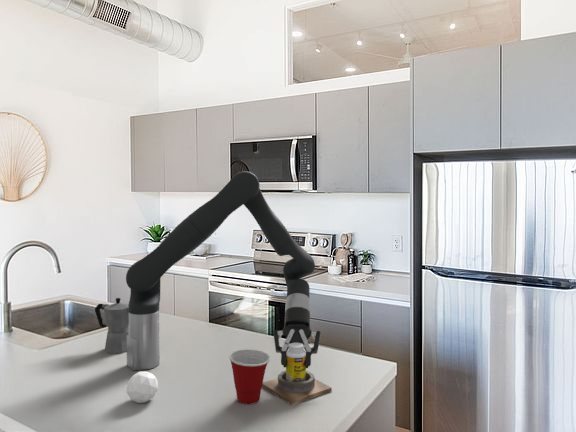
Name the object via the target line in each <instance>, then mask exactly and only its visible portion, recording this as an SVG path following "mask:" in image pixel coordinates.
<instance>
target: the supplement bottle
mask: <svg viewBox="0 0 576 432" xmlns="http://www.w3.org/2000/svg"><path fill="white" fill-rule="evenodd" d="M285 371H286V380H287V381H289V382H294V383H296V382H304V381H305V380H306V371H307V368H306V351H305V349H304V347H303V344H302V343H291V344H290V345H289V349H288V351H287V353H286V367H285Z"/></svg>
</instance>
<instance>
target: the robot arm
mask: <svg viewBox="0 0 576 432" xmlns="http://www.w3.org/2000/svg"><path fill="white" fill-rule="evenodd" d="M242 206H244V207H245V208H246V209H247V210H248V212H250V214H251V215H252V217H253V219H255V221H256V223H257V224H258V226H259V228H260V229H261V231H262V233H263V235H264V236H265V238H266V239H267V242H268V243H269V244H270V246H271V247H272V249H273V250H274V251H275V253H276V254H277V256H280V257H284V256H289V257H291V258H290V259H289V260H287V261H286V262H285V263H284V265H283V268H282V274H283V277H284V281H285V285H286V300H285V308H284V313H285V314H284V326H283V329H282V330H277V329H274V330H273V332H272V333H273V340H274V347H275V348H274V349H275V353H277V354H279V353H280V355H281V356H280V357H281V358H280V364H281V366H283V368H286V353H287V351H288V350H289V345H290V344H291V343H302V344H303V348H304V349H303V350H304V351H305V352H306V369H309V367H311V366H312V355H313V354H314V355H316V354H318V352H319V351H318V350H319V344H320V340H321V331H319V330H317V331H312V329H311V303H310V284H309V282H308V281H307V280H305V279H303V278H304V277H306V276H309V275H312V274H313V273H314V271H315V269H316V264H315V260H314V258H313V256H311V254H310V253H308V252H307V251H306V250H305V249H304V248H303V247H302V246H301V245H300V244H298V243H297V242H296V241H295V239H294V238H293V237H292V235H291V234H290V232H289V230H288V229H287V228H286V226H285V225H284V223H283V222H282V220H280V219H279V218H280V217H278V216H277V215H276V214H275V212H274V211H273V209H272V208H271V207H270V204H268V202H267V200H266V198H265V197H264V195H263V193H262V189H260V181H259V178H258V177H257V175H255V174H254V173H253V172H251V171H246V170H244V171H243V170H242V171H239V172H237V173H236V174H234V176H233V177H232V178H231V179H230V180H229V181H228V182H227V184H225V186H223V188H222V189H221V190H220V191H219V192H218V193H217V194H216V195H215V196H213V197H212V198H210V199H209V200H208V201H206V202H205V203H204V204H202V205H201V206H200V207H198V208H197V209H196V210H194V211H193V212H191V214H189V215H188V216H187V217H185V218H184V219H183V220H182V221H181V222H180V223H179V224H177V226H176V227H175V228H174V229H173V230H172V231H171V232H170V233H169V234H168V235H167V236H166V237H165V238H164V240H162V242H161V243H160V244H159V245H158V246H157V247H156V248H154V249H153V250H152V251H151V252H149V253H148V254H146V256H144V257H143V258H142V259H138V260H137V261H136V262H134V263H133V264H132V265H131V266H130V267H129V268H128V270H127V272H126V274H125V281H126V285H127V286H128V288H129V289H130V295H129V302H128V304H129V305H128V310H129V335H127V352H126V366H128V368H130V369H131V371H142V370H143V371H146V370H150V369H153V368H156V367H158V366H159V365H160V363H161V362H160V359H161V355H160V354H161V352H160V348H161V347H160V301H161V278H162V277H163V276H164V275H165V274H166V272H168V271H169V270H170V269H171V268H172V267H173V266H174V265H176V263H179V261H181V260H182V259H183V258H185V257H187V256H188V255H189V254H191V253H192V252H193V251H195V250H196V249H197V248H198V247H200V246H201V245H202V244H203V243H204V242H205V241H207V240H208V238H210V237H211V236H212V235H213V234H214V233H215V232H216V231H217V230H218V228H220V227H221V225H222V224H223V223H224V222H225V220H227V219H228V217H229V216H230V215H231V214H233V213H234V212H235V211H236V210H238V209H239V208H241V207H242ZM311 336H312V339H313V341H314V342H313V343H314V344H313V346H312V347H311V346H310V344H309V341H308V340H309V339H310V337H311ZM282 337H284V339H285V341H284V342H283V345H282V346H280V340H281V338H282Z"/></svg>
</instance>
